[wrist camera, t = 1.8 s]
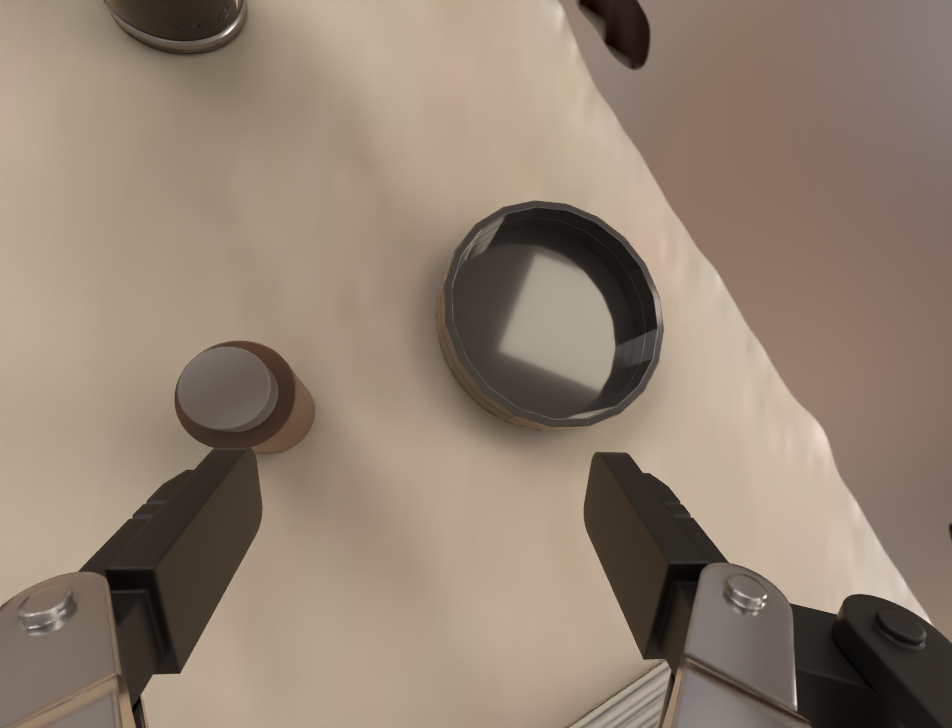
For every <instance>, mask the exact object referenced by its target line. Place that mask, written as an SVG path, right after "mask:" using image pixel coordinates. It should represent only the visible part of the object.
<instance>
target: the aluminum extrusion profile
mask: <svg viewBox="0 0 952 728" xmlns="http://www.w3.org/2000/svg"><path fill="white" fill-rule="evenodd" d="M670 673H671V669H670V667H669V665H668V663H667V661H665V662H663V663H662V664H660V665H659V666H657V667H656V668H655V669H653V670H652V671H650V672H649V673H647V674H646V675H644V676H643V677H642V678H640V679H639V680H637V681H636V682H634V683H633V684H631V685H630V686H629V687H627V688H626V689H624V690H623V691H621V692H620V693H618V694H617V695H616V696H614V697H613V698H611V699H610V700H608V701H607V702H605V703H604V704H603V705H601V706H600V707H598V708H597V709H595V710H594V711H592V712H591V713H590V714H588V715H587V716H585V717H584V718H582V719H581V720H579V721H578V722H577V723H575V724H574V725H572V726H571V727H569V728H657V726H658V721H659V717H660V713H661V708H662V704H663V700H664V696H665V691H666V687H667V683H668V679H669V676H670Z"/></svg>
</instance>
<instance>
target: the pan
mask: <svg viewBox="0 0 952 728" xmlns="http://www.w3.org/2000/svg"><path fill="white" fill-rule="evenodd" d="M436 317H437V331H438V336H439V340H440V345H441V348H442V351H443V354H444V357H445V359H446V361H447V363H448V365H449V367H450V369H451V371H452V373H453V375H454V376H455V378H456V379H457V381H458V382H459V384H460V385H461V386H462V387H463V389H464V390H465V391H466V392H467V393H468V394H469V396H470V397H472V398H473V399H474V400H475V401H476V402H477V403H478V404H479V405H480V406H482V407H483V408H485V409H486V410H487V411H489V412H490V413H492V414H493V415H495V416H497V417H499V418H501V419H503V420H505V421H507V422H509V423H512V424H515V425H518V426H521V427H526V428H531V429H534V430H560V429H574V428H580V427H587V426H591V425H593V424H596V423H598V422H600V421H603V420H605V419H608V418H610V417H613V416H615V415H618V414H619V413H621V412H622V411H623V410H624V409H625V408H626V407H628V406H629V405H630V404H631V403H632V402H633V401H634V400H635V399H636V398H637V397H638V396H639V395H640V394H642V393H643V392H644V390H645V388H646V386H647V384H648V382H649V381H650V379H651V377H652V375H653V373H654V371H655V369H656V367H657V365H658V363H659V358H660V351H661V345H662V339H663V332H664V326H663V319H662V312H661V304H660V297H659V294H658V292H657V290H656V287H655V285H654V282H653V280H652V278H651V275H650V273H649V271H648V268H647V266H646V264H645V263H644V262H643V260H642V259H641V258H640V256H639V255H638V254H637V253H636V251H635V250H634V249H633V247H632V246H631V245H630V243H629V242H628V241H627V240H626V238H625V237H623V236H622V235H621V234H620V233H618V232H617V231H616V230H614V229H613V228H612V227H610V226H609V225H608V224H607V223H605V222H604V221H603V220H601V219H600V218H599V217H597V216H595V215H592V214H590V213H587V212H585V211H583V210H580V209H578V208H575V207H573V206H571V205H567V204H562V203H553V202H544V201H530V202H526V203H521V204H516V205H511V206H507V207H503V208H501V209H500V210H498V211H496V212H495V213H493V214H491V215H490V216H488V217H487V218H485V219H483V220H482V221H480V222H478V223H477V224H476V225H474V227H473V228H472V229H471V230H470V232H469V233H468V234H467V236H466V237H465V238H464V240H463V241H462V242H461V243H460V245H459V246H458V247H457V249H456V250H455V252H454V254H453V256H452V258H451V260H450V263H449V265H448V267H447V270H446V273H445V276H444V279H443V282H442V285H441V288H440V292H439V295H438V298H437V315H436Z"/></svg>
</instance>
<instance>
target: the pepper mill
mask: <svg viewBox="0 0 952 728" xmlns="http://www.w3.org/2000/svg"><path fill="white" fill-rule="evenodd" d="M175 409H176V413H177V416H178V418H179V420H180V422H181V424H182V426H183V427H184V429H185V430H186V431H187V432H188V433H189V434H190V435H191V436H192V437H193V438H195V439H196V440H198V441H199V442H201V443H203V444H205V445H207V446H209V447H213V448H251V449H253V450H254V452H257V453H278V452H282V451H285V450H288V449H290V448H292V447H293V446H295V445H297V444H298V443H299V442H300V441H301V440H302V439H303V438H304V437H305V436H306V435H307V433H308V432H309V430H310V428H311V426H312V423H313V420H314V403H313V400H312V397H311V395H310V393H309V392H308V390H307V389H306V387H305V386H304V385H303V383H302V382H301V381H300V379H299V378H298V377H297V375H296V374H295V373H294V371H293V370H292V369H291V367H290V366H289V365H288V363H287V362H286V361H285V360H284V359H283V358H282V357H281V356H280V355H279V354H278V353H277V352H275V351H274V350H272V349H270V348H268V347H266V346H264V345H261V344H259V343H255V342H250V341H230V342H225V343H221V344H217V345H215V346H212V347H210V348H208V349H206V350H204V351H203V352H201V353H200V354H198V355H197V356H196V357H195V358H194V359H192V360H191V361H190V363H189V364H188V365H187V366H186V367H185V369H184V370H183V372H182V374H181V376H180V377H179V380H178V383H177V385H176V390H175Z"/></svg>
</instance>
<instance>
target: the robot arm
mask: <svg viewBox="0 0 952 728" xmlns="http://www.w3.org/2000/svg"><path fill="white" fill-rule="evenodd" d="M104 2H105V4H106V5H107V7H108V9H109V11H110V13H111V14H112V16H113V17H114V19H115V20H116V21H117V23H118V24H119V25H120V26H121V27H122V28H123V29H124V30H125V31H127V32H128V33H129V34H131V35H132V36H133V37H135V38H137V39H138V40H140V41H142V42H144V43H146V44H148V45H151V46H153V47H156V48H159V49H162V50H166V51H171V52H179V53H198V52H205V51H209V50H213V49H216V48H218V47H221V46H223V45H225V44H226V43H228V42H229V41H231V40H232V39H233V38H234V37H235V36H236V35H237V34H238V33H239V32H240V30H241V29H242V27H243V25H244V23H245V20H246V16H247V5H246V0H104ZM261 518H262V498H261V491H260V483H259V476H258V468H257V460H256V455H255V452H254V450H253V449H251V448H215V449H213V450H212V451H211V452H210V453H209V454H208V455H207V456H206V457H205V458H204V460H203V461H202V462H201V463H200V464H199V465H198V466H197V467H196V468H195V469H194V470H186V471H184V472H182V473H181V474H179V475H177V476H176V477H174V478H172V479H171V480H169V481H167V482H166V483H164V484H163V485H162V486H161V487H160V488H159V489H158V490H157V491H156V492H155V493H154V494H153V495H152V496H151V497H150V498H149V499H148V500H147V503H146V504H143V505H142V506H141V507H140V508H139V509H138V510H137V511H136V512H135V513H134V514H133V518H132V519H129V520H128V521H127V522H126V523H125V524H124V525H123V526H122V527H121V528H120V529H119V530H118V531H117V532H116V533H115V534H114V535H113V536H112V537H111V538H110V539H109V540H108V541H107V542H106V543H105V544H104V545H103V546H102V547H101V548H100V549H99V550H98V551H97V553H96V554H95V555H94V556H93V557H92V558H91V559H90V560H89V561H88V562H87V563H86V564H85V565H84V566H83V567H82V568H81V569H80V570H79V571H78V572H74V573H68V574H64V575H60V576H56V577H53V578H50V579H47V580H45V581H43V582H40V583H38V584H36V585H34V586H32V587H30V588H28V589H26V590H24V591H22V592H21V593H19V594H17V595H16V596H14V597H13V598H11V599H10V600H8V601H7V602H6V603H5V604H3V605H2V606H1V607H0V728H148V722H147V717H146V711H145V705H144V701H143V698H142V694H141V693H142V692H143V690H144V688H145V687H146V685H147V683H148V682H149V680H150V678H151V677H152V675H153V674H180V673H181V671H182V669H183V667H184V665H185V664H186V662H187V660H188V658H189V656H190V654H191V653H192V651H193V649H194V647H195V645H196V643H197V642H198V640H199V638H200V636H201V634H202V632H203V631H204V629H205V627H206V625H207V623H208V622H209V620H210V618H211V616H212V614H213V612H214V611H215V609H216V607H217V605H218V603H219V601H220V600H221V598H222V596H223V594H224V592H225V590H226V589H227V587H228V585H229V583H230V581H231V580H232V578H233V576H234V574H235V572H236V570H237V569H238V567H239V565H240V563H241V561H242V559H243V558H244V556H245V554H246V552H247V550H248V548H249V547H250V545H251V543H252V541H253V539H254V538H255V536H256V534H257V532H258V529H259V526H260V523H261ZM584 522H585V527H586V530H587V533H588V535H589V537H590V540H591V542H592V544H593V546H594V549H595V551H596V553H597V555H598V558H599V560H600V562H601V564H602V567H603V569H604V571H605V573H606V576H607V578H608V580H609V582H610V585H611V587H612V589H613V592H614V594H615V596H616V598H617V601H618V603H619V605H620V607H621V610H622V612H623V614H624V616H625V619H626V621H627V623H628V625H629V628H630V630H631V632H632V634H633V637H634V639H635V641H636V643H637V646H638V648H639V650H640V653H641V655H642V657H643V659H666V661H667V663H668V665H669V667H670V669H671V673H670V676H669V679H668V683H667V687H666V691H665V696H664V700H663V704H662V708H661V713H660V717H659V721H658V726H657V728H952V643H951V642H950V641H948V639H946V638H945V637H944V636H943V635H942V634H941V633H940V632H939V631H938V630H936V629H935V628H934V627H933V626H932V625H930V624H929V623H928V622H926V621H925V620H924V619H922V618H921V617H919V616H918V615H916V614H914V613H913V612H911V611H909V610H907V609H906V608H904V607H902V606H900V605H897V604H895V603H893V602H890V601H888V600H885V599H882V598H879V597H875V596H871V595H864V594H855V595H851V596H849V597H847V598H846V599H845V600H844V601H843V604H842V606H841V608H840V610H839V612H838V614H837V615H836V614H832V613H828V612H824V611H820V610H815V609H811V608H807V607H803V606H799V605H795V604H791V603H789V602H788V600H787V599H786V597H785V596H784V595H783V593H782V592H781V591H780V590H779V589H778V588H777V587H776V586H775V585H774V584H772V583H771V582H770V581H769V580H767V579H766V578H764V577H763V576H761V575H759V574H758V573H756V572H754V571H752V570H750V569H747V568H745V567H742V566H739V565H735V564H731V563H729V562H728V561H727V560H726V559H725V557H724V556H723V555H722V554H721V552H720V551H719V550H718V549H717V547H716V546H715V545H714V543H713V542H712V541H711V540H710V538H709V537H708V536H707V535H706V533H705V532H704V531H703V530H702V528H701V527H700V526H699V525H698V523H697V522H696V521H695V520H694V518H691V517H690V513H689V512H688V511H687V510H686V508H685V507H684V506H683V505H681V504H680V501H679V499H678V498H677V497H676V496H675V494H674V493H673V492H672V491H671V489H670V488H669V487H668V486H667V485H665V484H664V483H663V482H661V481H660V480H658V479H657V478H656V477H654V476H653V475H651V474H650V473H642V471H641V470H640V469H639V467H638V466H637V464H636V463H635V462H634V460H633V459H632V458H631V456H630V455H629V454H628V453H617V452H596V453H595V454H594V455H593V458H592V461H591V467H590V473H589V479H588V484H587V490H586V496H585V502H584Z"/></svg>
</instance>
